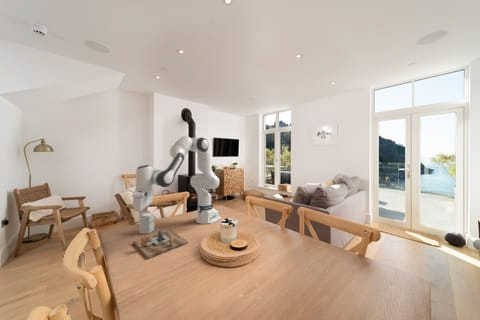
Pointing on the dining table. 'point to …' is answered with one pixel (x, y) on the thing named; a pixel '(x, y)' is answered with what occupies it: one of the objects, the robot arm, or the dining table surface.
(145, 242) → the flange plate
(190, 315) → the dining table surface
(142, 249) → the walnut board
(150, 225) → the supplement box
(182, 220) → the dining table surface
